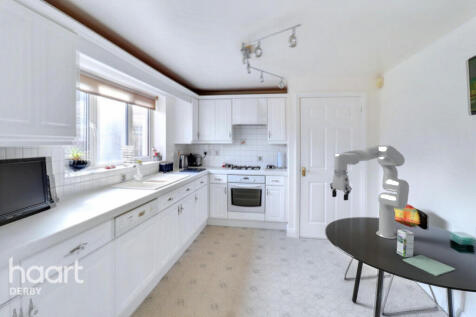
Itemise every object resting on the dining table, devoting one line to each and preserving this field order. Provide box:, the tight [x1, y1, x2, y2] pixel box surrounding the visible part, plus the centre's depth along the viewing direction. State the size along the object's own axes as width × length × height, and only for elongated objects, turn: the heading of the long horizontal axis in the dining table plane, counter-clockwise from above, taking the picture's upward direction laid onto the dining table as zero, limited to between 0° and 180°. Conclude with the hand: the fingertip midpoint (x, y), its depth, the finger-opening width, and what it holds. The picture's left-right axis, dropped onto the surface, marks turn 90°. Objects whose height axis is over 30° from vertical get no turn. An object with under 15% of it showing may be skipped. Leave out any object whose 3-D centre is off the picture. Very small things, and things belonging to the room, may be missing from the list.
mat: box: [402, 254, 456, 277], centre depth 119 cm, size 16×16×1 cm
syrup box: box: [396, 229, 415, 258], centre depth 130 cm, size 6×6×14 cm
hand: (339, 198), depth 142 cm, fingers open, 9 cm apart
